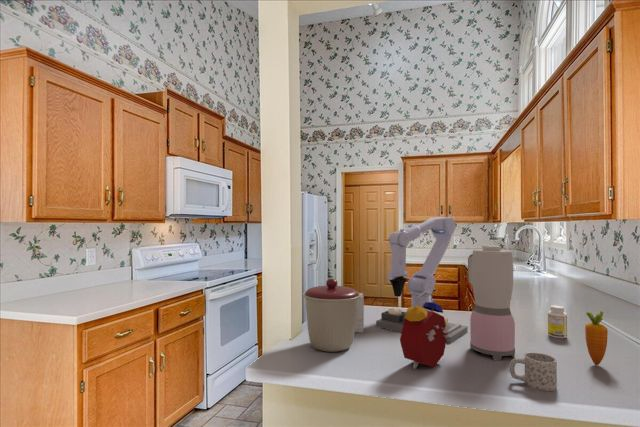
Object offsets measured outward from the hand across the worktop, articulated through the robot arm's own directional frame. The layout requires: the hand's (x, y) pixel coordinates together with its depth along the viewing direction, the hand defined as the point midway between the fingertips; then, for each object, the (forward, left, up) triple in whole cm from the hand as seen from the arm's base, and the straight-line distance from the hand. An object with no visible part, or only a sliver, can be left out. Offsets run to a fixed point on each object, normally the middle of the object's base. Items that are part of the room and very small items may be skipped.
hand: (397, 296), depth 145 cm
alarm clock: (+35, +28, -10) cm, 46 cm away
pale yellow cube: (+10, +21, -7) cm, 25 cm away
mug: (+29, +52, -10) cm, 61 cm away
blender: (+12, +37, -10) cm, 40 cm away
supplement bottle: (-19, +51, -10) cm, 55 cm away
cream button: (+6, +2, -6) cm, 9 cm away
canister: (+41, -1, -10) cm, 42 cm away
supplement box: (+22, -6, -10) cm, 25 cm away
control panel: (+5, +12, -9) cm, 16 cm away
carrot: (+4, +63, -10) cm, 64 cm away
